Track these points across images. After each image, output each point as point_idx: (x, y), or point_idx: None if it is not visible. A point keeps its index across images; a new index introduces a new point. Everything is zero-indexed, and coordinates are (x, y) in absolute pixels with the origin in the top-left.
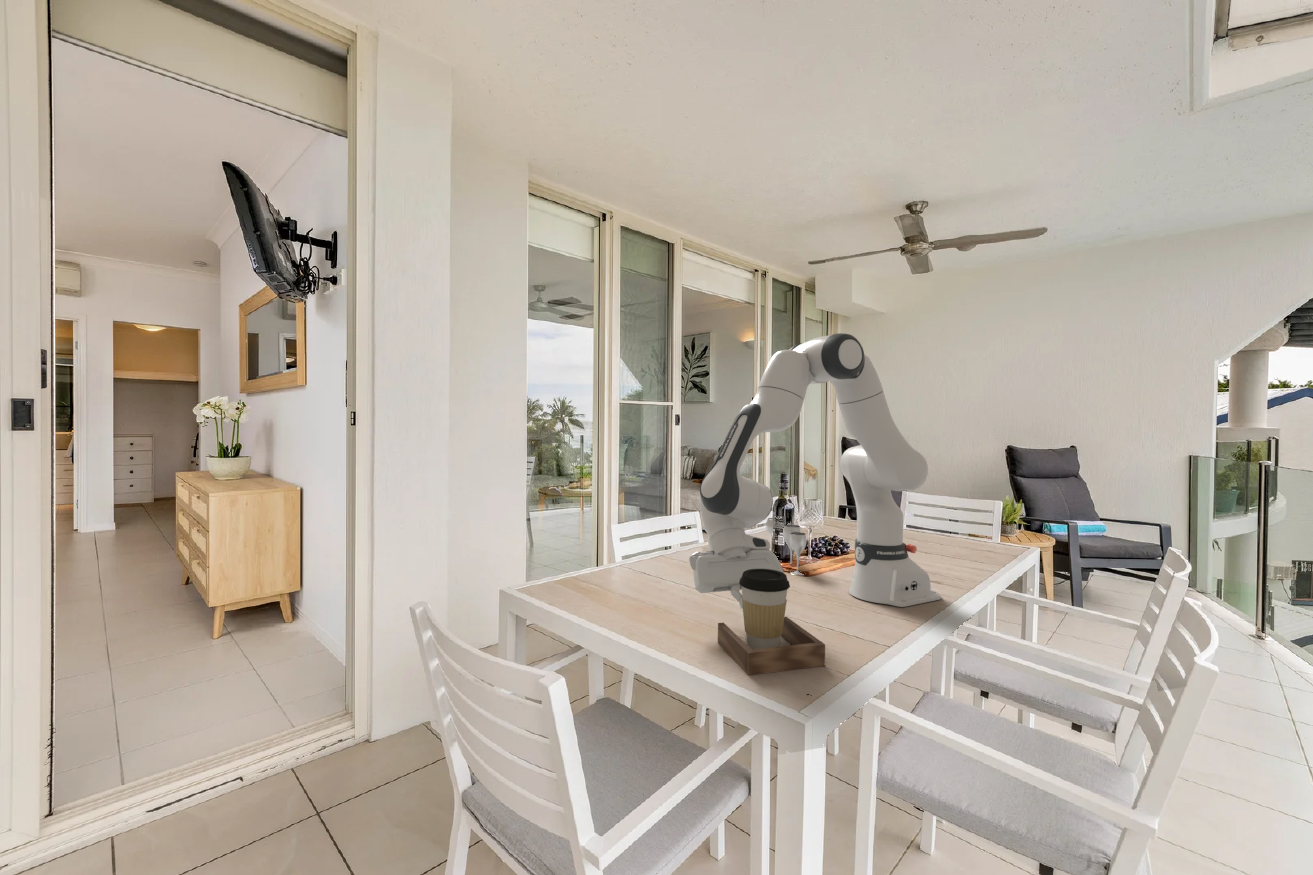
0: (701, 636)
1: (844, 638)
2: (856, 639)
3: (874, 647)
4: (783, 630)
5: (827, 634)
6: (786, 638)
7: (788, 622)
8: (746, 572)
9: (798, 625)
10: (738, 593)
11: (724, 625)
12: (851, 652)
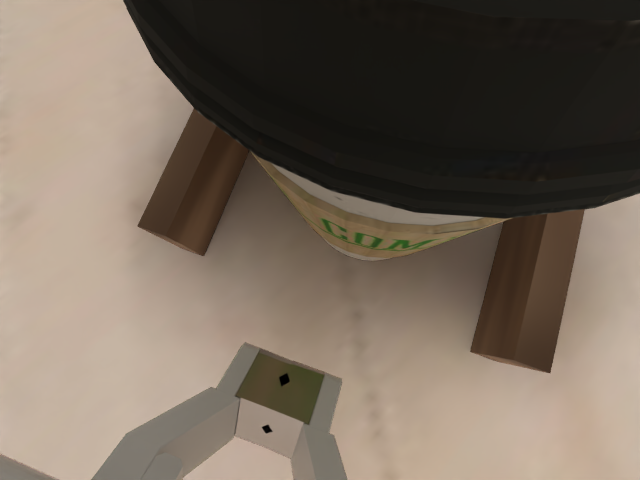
0: (527, 470)
1: (32, 108)
2: (9, 82)
3: (32, 15)
4: (201, 226)
5: (43, 164)
6: (220, 208)
7: (199, 163)
8: None
9: (193, 112)
10: (336, 476)
11: (535, 320)
12: (128, 27)
